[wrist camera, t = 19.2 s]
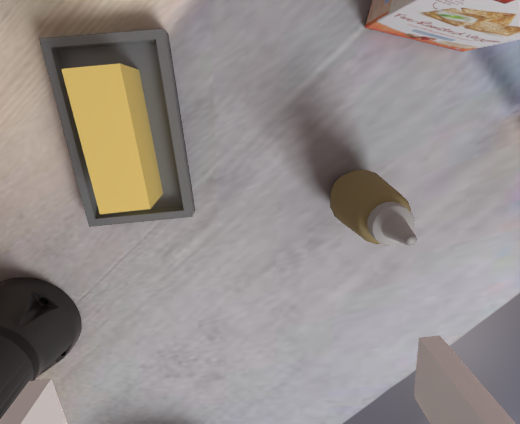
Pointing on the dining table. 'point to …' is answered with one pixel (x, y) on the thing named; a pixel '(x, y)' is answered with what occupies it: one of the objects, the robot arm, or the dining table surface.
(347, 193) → the squeeze bottle
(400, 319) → the dining table surface
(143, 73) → the tray
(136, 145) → the mustard yellow carton
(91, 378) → the dining table surface
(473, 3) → the cracker box
